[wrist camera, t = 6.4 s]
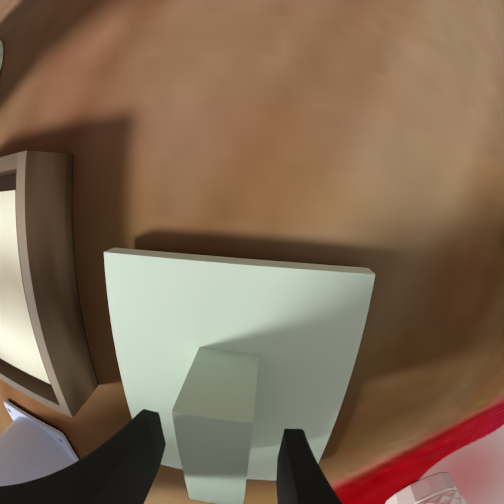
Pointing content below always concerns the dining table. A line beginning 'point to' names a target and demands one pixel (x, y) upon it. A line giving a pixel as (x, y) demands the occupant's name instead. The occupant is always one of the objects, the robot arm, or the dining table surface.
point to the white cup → (429, 492)
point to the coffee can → (1, 54)
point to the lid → (234, 356)
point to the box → (41, 284)
